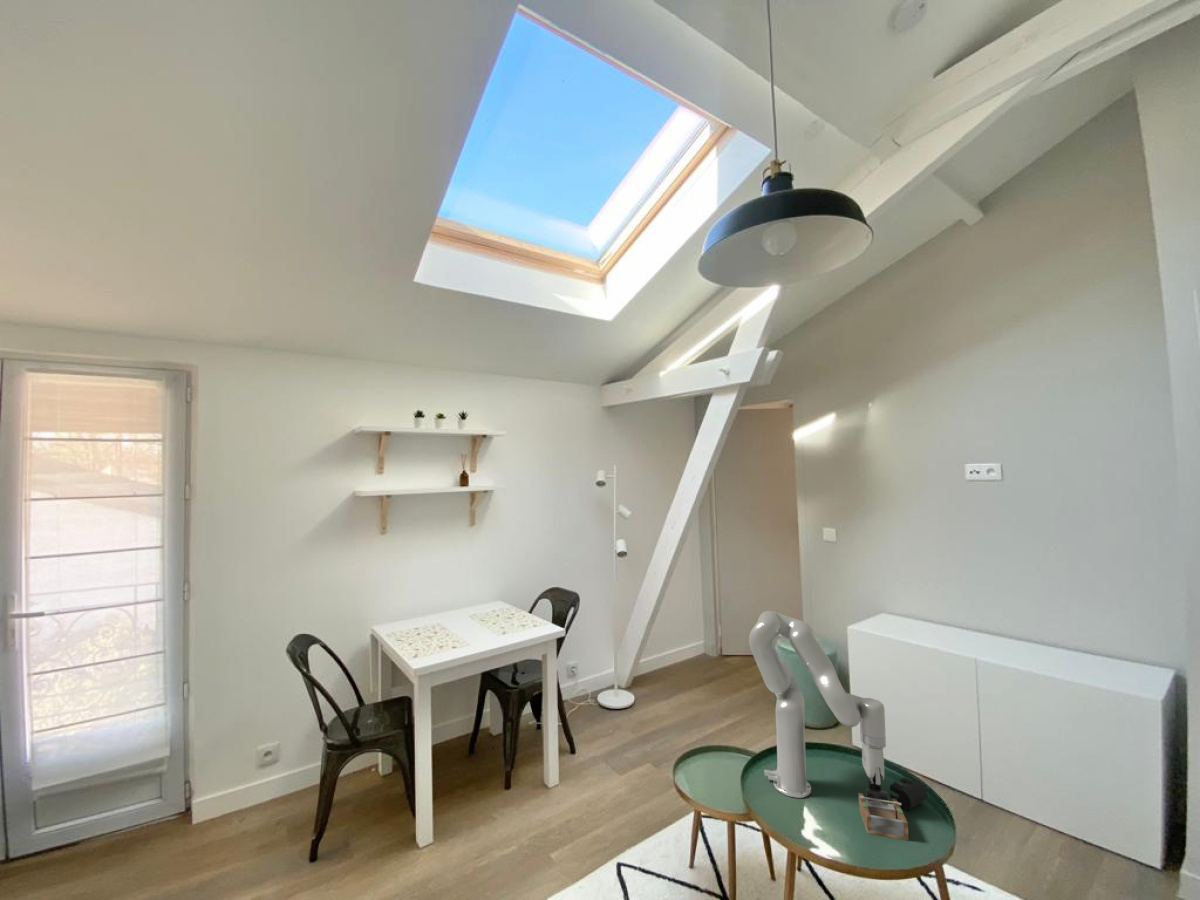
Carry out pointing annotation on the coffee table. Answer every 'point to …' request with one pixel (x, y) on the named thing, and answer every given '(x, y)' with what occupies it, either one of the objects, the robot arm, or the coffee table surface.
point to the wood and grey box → (884, 822)
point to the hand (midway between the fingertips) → (875, 794)
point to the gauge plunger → (880, 803)
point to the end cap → (908, 793)
